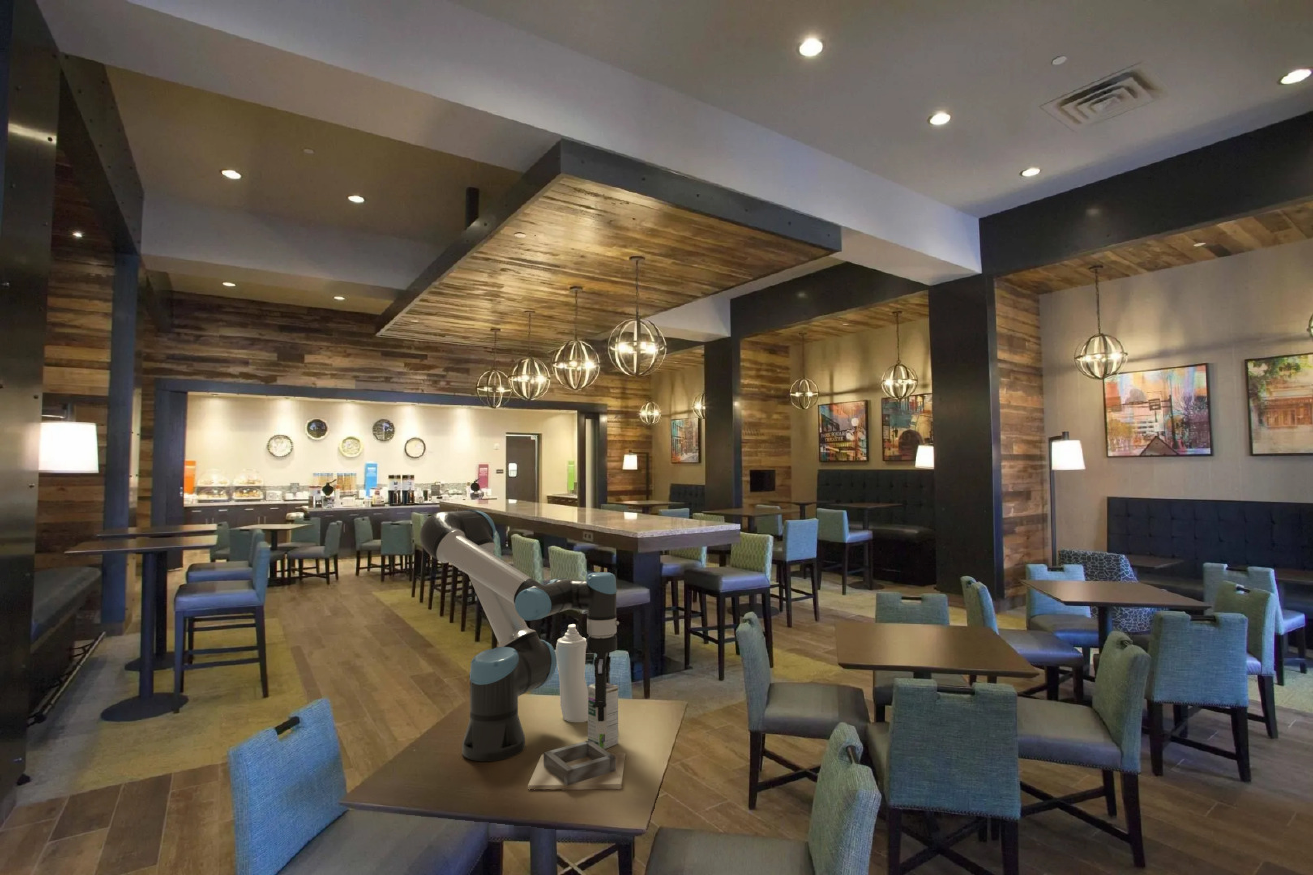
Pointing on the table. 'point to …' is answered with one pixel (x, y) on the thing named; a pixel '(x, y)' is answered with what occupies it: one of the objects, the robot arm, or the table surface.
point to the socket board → (587, 784)
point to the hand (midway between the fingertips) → (603, 726)
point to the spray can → (572, 675)
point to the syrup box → (612, 717)
